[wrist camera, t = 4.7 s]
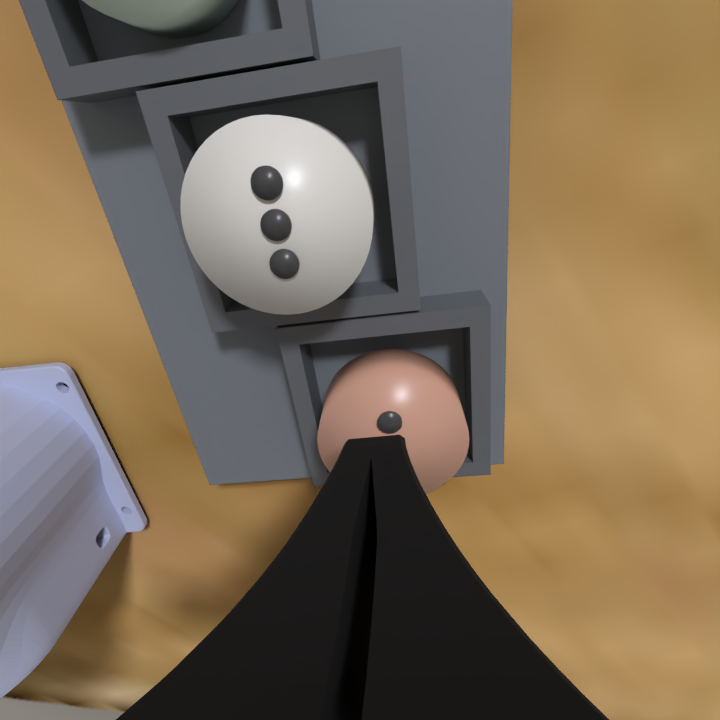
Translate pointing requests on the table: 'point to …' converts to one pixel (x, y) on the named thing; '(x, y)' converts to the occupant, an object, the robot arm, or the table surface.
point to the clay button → (397, 412)
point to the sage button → (167, 14)
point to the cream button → (278, 213)
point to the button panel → (386, 176)
